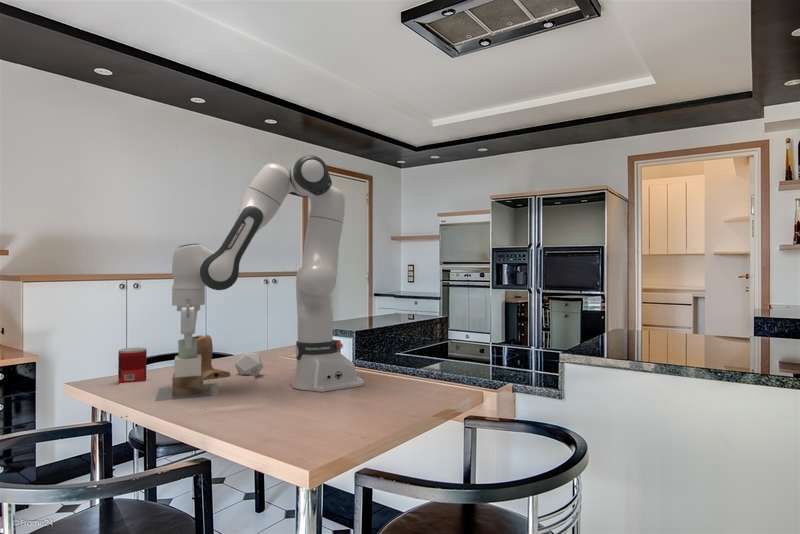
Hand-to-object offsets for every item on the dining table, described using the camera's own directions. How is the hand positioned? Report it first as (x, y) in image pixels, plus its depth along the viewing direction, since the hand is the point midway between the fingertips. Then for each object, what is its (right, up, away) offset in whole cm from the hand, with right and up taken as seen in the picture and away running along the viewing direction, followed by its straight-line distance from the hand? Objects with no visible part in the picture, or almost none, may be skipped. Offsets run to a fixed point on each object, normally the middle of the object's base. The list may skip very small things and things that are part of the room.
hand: (188, 346), depth 141 cm
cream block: (0, -8, 0) cm, 8 cm away
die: (+10, -15, +26) cm, 31 cm away
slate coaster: (0, -14, 0) cm, 14 cm away
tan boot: (-5, -15, +21) cm, 26 cm away
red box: (-25, -15, +16) cm, 34 cm away
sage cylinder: (0, -3, 0) cm, 3 cm away
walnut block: (0, -13, 0) cm, 13 cm away
